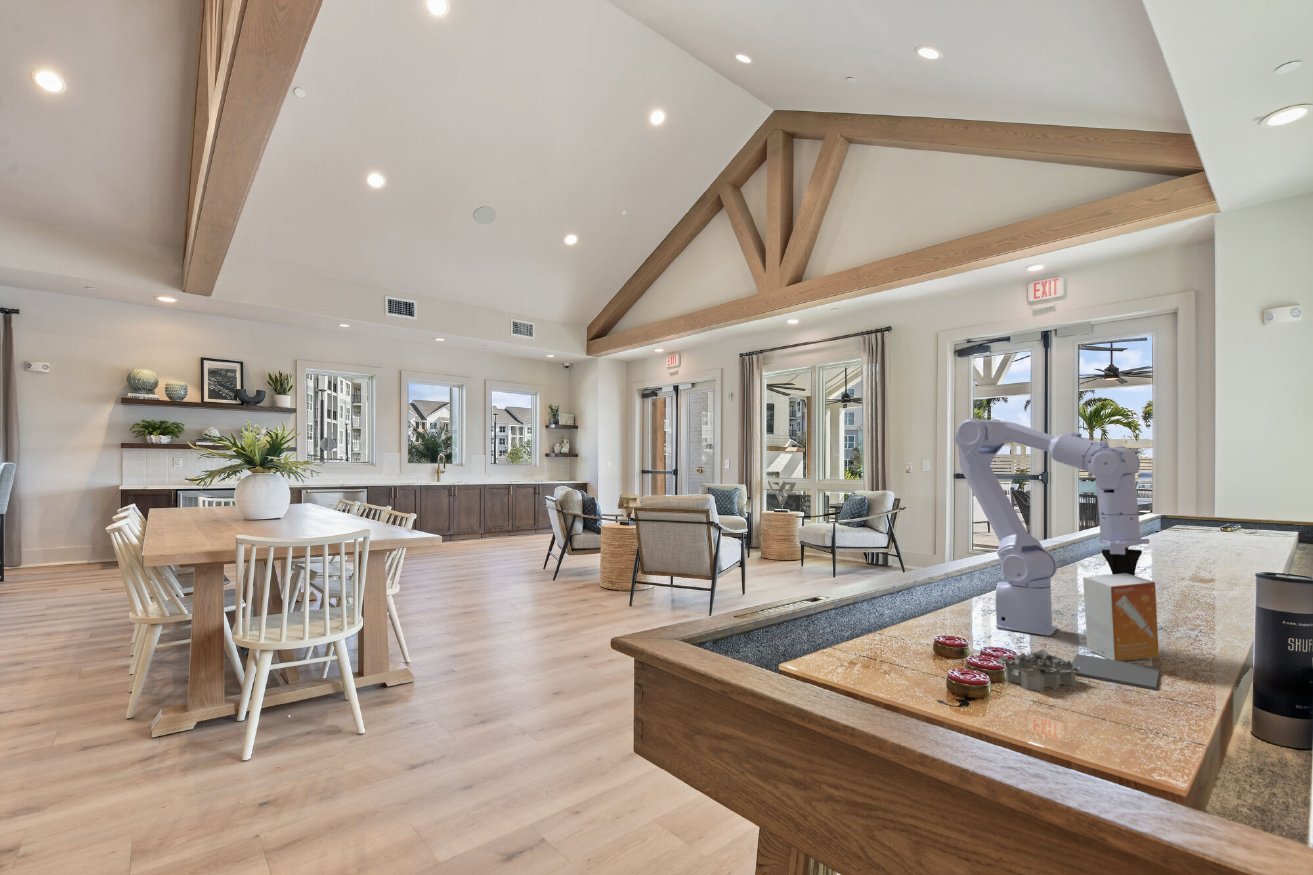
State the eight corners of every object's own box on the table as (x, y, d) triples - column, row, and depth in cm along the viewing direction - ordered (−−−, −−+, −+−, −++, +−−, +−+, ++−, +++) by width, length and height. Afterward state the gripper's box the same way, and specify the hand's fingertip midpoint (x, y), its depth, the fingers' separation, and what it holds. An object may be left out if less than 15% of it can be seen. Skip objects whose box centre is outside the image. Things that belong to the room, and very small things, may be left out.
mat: (1066, 673, 97) (1066, 670, 97) (1077, 656, 105) (1077, 654, 105) (1156, 689, 90) (1156, 687, 90) (1159, 670, 98) (1159, 667, 98)
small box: (1115, 663, 102) (1110, 586, 101) (1086, 649, 108) (1081, 576, 108) (1161, 657, 102) (1156, 581, 102) (1129, 644, 109) (1124, 571, 108)
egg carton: (1032, 694, 89) (1031, 667, 89) (992, 677, 96) (991, 652, 96) (1086, 686, 92) (1085, 659, 92) (1044, 670, 99) (1043, 645, 99)
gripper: (1144, 517, 101) (1151, 600, 101) (1149, 511, 112) (1155, 586, 111) (1092, 516, 106) (1099, 595, 105) (1101, 511, 117) (1107, 582, 116)
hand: (1124, 590), depth 109 cm, fingers closed, pressing on small box
